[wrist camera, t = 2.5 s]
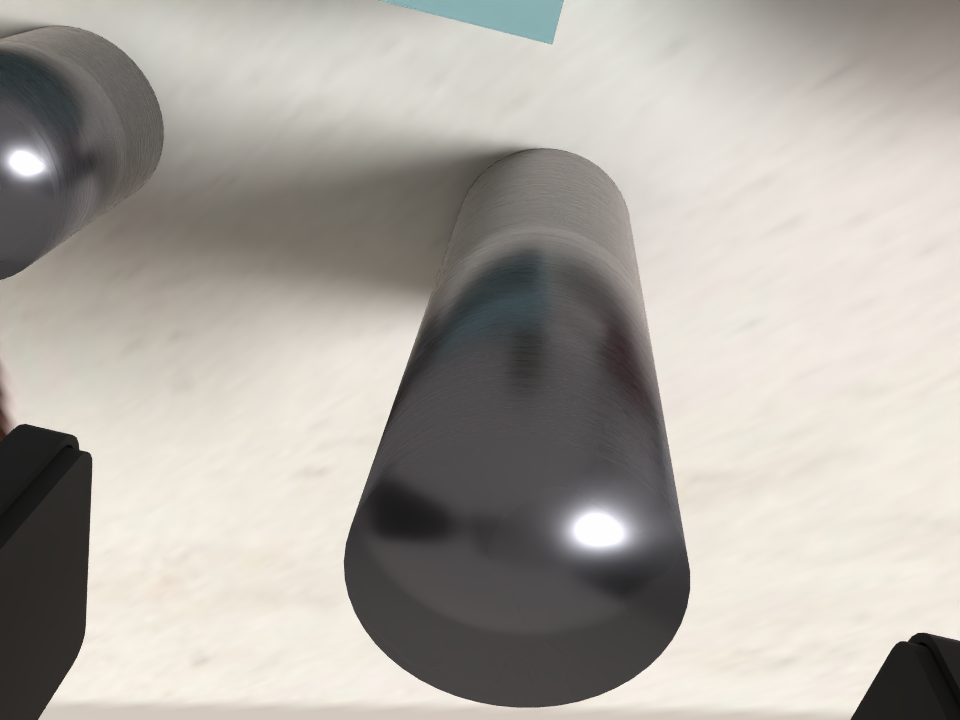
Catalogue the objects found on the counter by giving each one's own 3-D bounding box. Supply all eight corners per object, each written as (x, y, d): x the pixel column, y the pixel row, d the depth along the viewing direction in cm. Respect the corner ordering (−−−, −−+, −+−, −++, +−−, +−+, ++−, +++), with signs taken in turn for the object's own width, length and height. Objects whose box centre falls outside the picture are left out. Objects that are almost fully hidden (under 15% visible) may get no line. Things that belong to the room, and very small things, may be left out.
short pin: (-11, 5, 20) (-178, 40, 16) (169, 50, 20) (54, 98, 16) (-6, 179, 22) (-153, 254, 17) (158, 219, 22) (53, 304, 18)
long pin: (478, 129, 20) (375, 399, 10) (653, 173, 20) (741, 488, 10) (441, 290, 22) (321, 665, 11) (602, 330, 22) (630, 738, 12)
